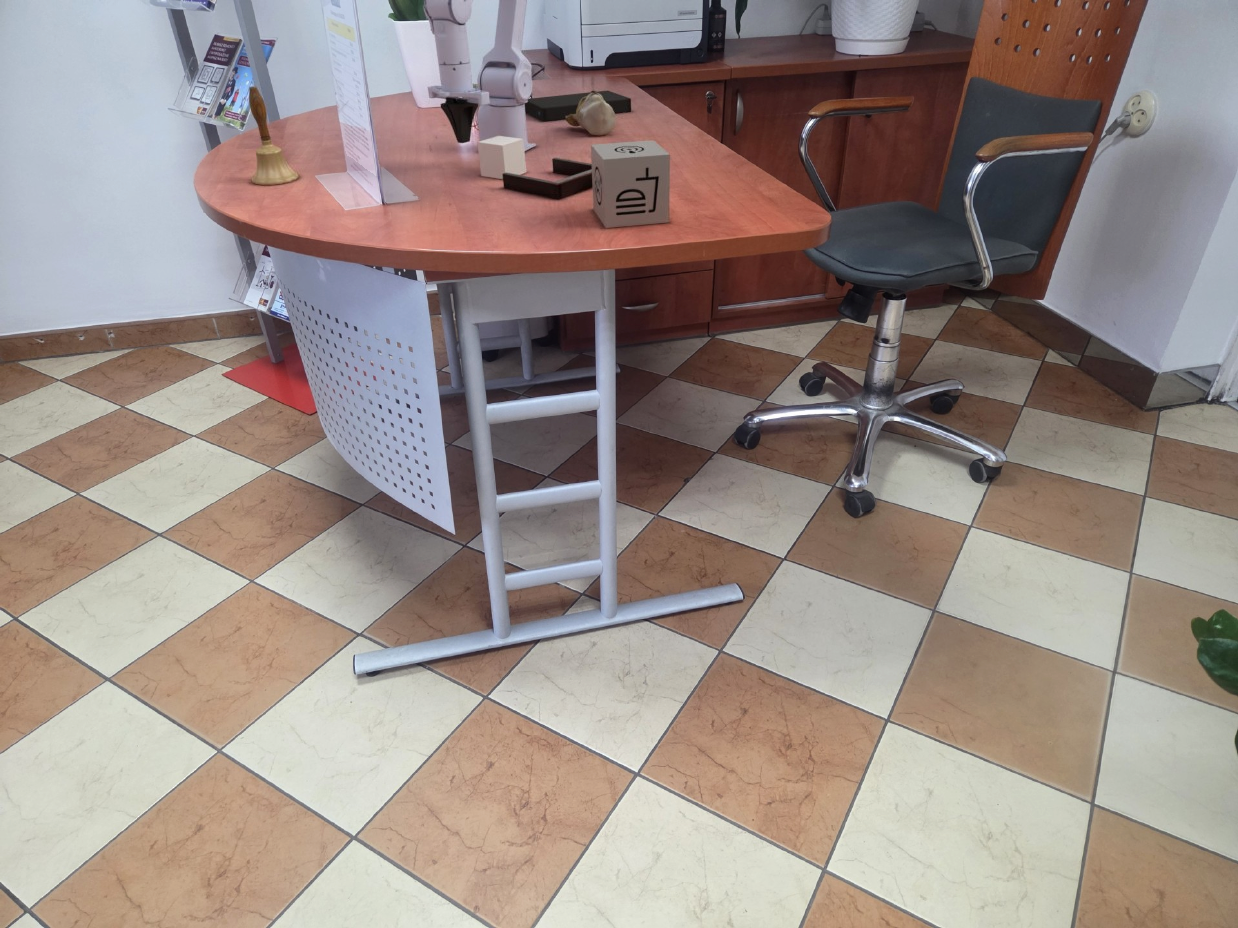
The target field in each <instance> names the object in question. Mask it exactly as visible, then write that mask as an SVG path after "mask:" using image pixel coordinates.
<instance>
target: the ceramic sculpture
mask: <svg viewBox="0 0 1238 928" xmlns="http://www.w3.org/2000/svg"><path fill="white" fill-rule="evenodd" d="M597 92H598V91H597V90H591V91H590V94H589V95H588V96H586V97H583V98H582V99H581V100H580V101H579V104H578V107H577V110H576V114H570V115H568V116H565V119H564V120H565V122H566V123H567V124H568V125H570V126H572V127H581V128H583V129H584V130H586V131H587V132H588V133H589V134H590V135H592V136H593V135H594V136H598V137H599V136H604V135H607V134H610V133H611V132H612V131H613V129H614V127H615V125H616V120H617V113H614V111H613V109H612V108H611V107H610V105H609V104H607V103H606V102H605V101H604V99H603V97H602V96H601V95H600V94H599V93H597Z"/></svg>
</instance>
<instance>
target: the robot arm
mask: <svg viewBox="0 0 1238 928" xmlns="http://www.w3.org/2000/svg"><path fill="white" fill-rule="evenodd" d="M423 3H424V5H422V9H423V12H424V15H425V18H426V19H427V21H428V22H429V27H430V31H431V33H432V35H434V42H435V49H436V57H437V63H438V73H439V77H440V78H439V79H440V85H430V86H427V93H428V98H429V99H441V100H445V101H444V102H441V103H440V109H441V110H442V111H443V113H444V114H445V116H446V117H447V120H448V122H449V124H450V126H451V128H452V131H453V133H454V136H455V139H456V141H457V143H458V144H466V143H470V142H471V135H472V128H473V121H474V118H475V115H476V112H477V127H478V138H479V141H483V140H486V139H489V138H493V137H496V136H504V137H512V138H520V139H524V151H525V152H526V151H528V150H530V149H532V148H534V147H536V146H537V144H536V143H535V142H529V141H528V140H529V139H528V129H527V116H526V114H527V113H525V103H527V102H528V99H530V97H531V95H532V92H533V78H532V68H533V65H532V64H531V62H530V61H529V59H528V58H527V57H526V56H525V55H524V54H523V52H522V49H523V48H522V47H523V37H524V30H525V21H526V13H527V4H528V0H498V10H497V18H496V26H495V27H496V28H495V36H494V46H493V48H491V50H489V51H488V52H487V53H485V55H484V56H482V62H481V67H480V69H479V72H478V75H477V78H476V80H477V81H476V83H477V88H475V87H474V86H473V85H474V84H473V77H472V68H471V67H472V66H471V57H470V50H469V49H470V48H469V39H468V31H467V23H468V21H469V20H470V19H471V15H472V4H473V0H424V2H423Z"/></svg>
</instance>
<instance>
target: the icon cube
mask: <svg viewBox="0 0 1238 928" xmlns="http://www.w3.org/2000/svg"><path fill="white" fill-rule="evenodd" d="M590 156H591V164H592V184H593V187H592V205H593V206H592V207H593V211H594V212H595V214H596V216H597V217H598V219H599V220H600V222H601V223H602V225H603V226H604V228H605V229H610V228H621V227H632V226H644V225H654V224H655V225H656V224H665V223H670V197H671V196H670V195H671V194H670V192H671V191H670V188H671V187H670V183H671V182H670V181H671V154H670V153H669V152H668V151H666V149H665V148H663V147H662V145H659V144H658V143H657V142H656V141H655V140H654V139H650V140H638V141H637V140H635V141H623V142H609V143H597V144H595V143H594V144H590Z"/></svg>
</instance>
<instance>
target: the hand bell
mask: <svg viewBox="0 0 1238 928" xmlns="http://www.w3.org/2000/svg"><path fill="white" fill-rule="evenodd" d="M265 103H266V102H265V100H264V98H263V96H262V95H261V93H260V91H259V89H258V87H257V86H254V85H253V86H249V87H248V104H249V107H250V108H249V109H250V112H251V115H252V117H253V119H254V121H255V122H256V125H257V128H258V132H259V136H260V141H261V146H260V147H259V148H257V149H256V150H255V154H256V155H255V156H256V170H255V173H254V175H253V176H252V177H251V182H252V183H253V184H255V185H258V186H259V185H260V186H273V185H274V186H275V185H282V184H287V183H292V182H294V181H297V180H298V179H299V174H298V173H297V172H296V171H295V170H293V169H292V168H291V167H290V166H289V164H288V163H287V160H286V159H285V158H286V157H285V156H284V153H283V150H282V148H281V147H279V146H276V145H274V144H273V142H272V137H271V135H270V131H269V128H268V123H267V121H268V120H267V119H268V117H267V116H268V113H267V107H266V104H265Z"/></svg>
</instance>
